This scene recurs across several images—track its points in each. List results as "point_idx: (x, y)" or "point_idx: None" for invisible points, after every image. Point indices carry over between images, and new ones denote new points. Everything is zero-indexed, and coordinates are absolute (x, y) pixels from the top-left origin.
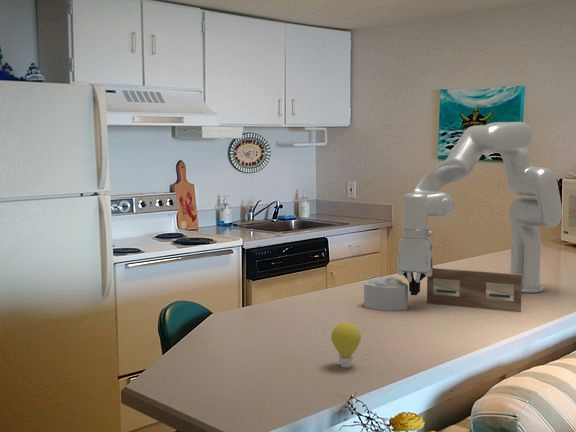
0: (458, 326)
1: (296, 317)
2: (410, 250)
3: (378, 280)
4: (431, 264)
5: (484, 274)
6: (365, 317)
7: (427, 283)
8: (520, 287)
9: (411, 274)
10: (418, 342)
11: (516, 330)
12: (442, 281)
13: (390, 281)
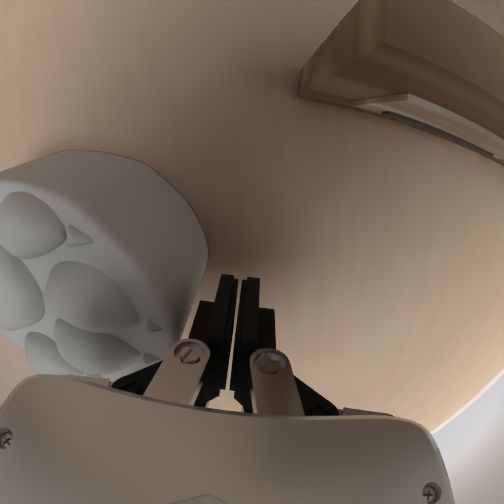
0: (388, 401)
1: (19, 376)
2: None
3: (11, 328)
4: (436, 469)
5: None
6: None
7: (325, 80)
8: None
9: (181, 396)
10: None
11: (489, 375)
12: (468, 131)
13: (73, 366)
